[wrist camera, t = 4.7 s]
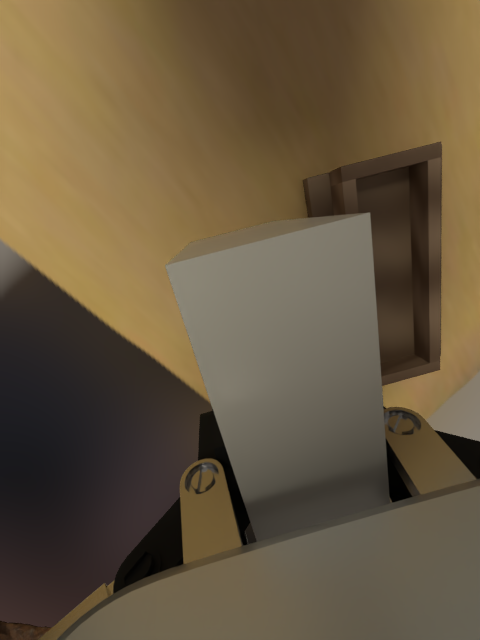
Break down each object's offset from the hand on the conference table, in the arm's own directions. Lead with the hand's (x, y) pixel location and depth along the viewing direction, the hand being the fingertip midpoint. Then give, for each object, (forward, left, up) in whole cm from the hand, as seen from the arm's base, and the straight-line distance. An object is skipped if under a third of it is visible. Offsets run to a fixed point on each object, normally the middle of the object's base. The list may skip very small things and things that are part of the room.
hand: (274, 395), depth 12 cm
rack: (0, +13, -14) cm, 19 cm away
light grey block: (0, 0, -2) cm, 2 cm away
